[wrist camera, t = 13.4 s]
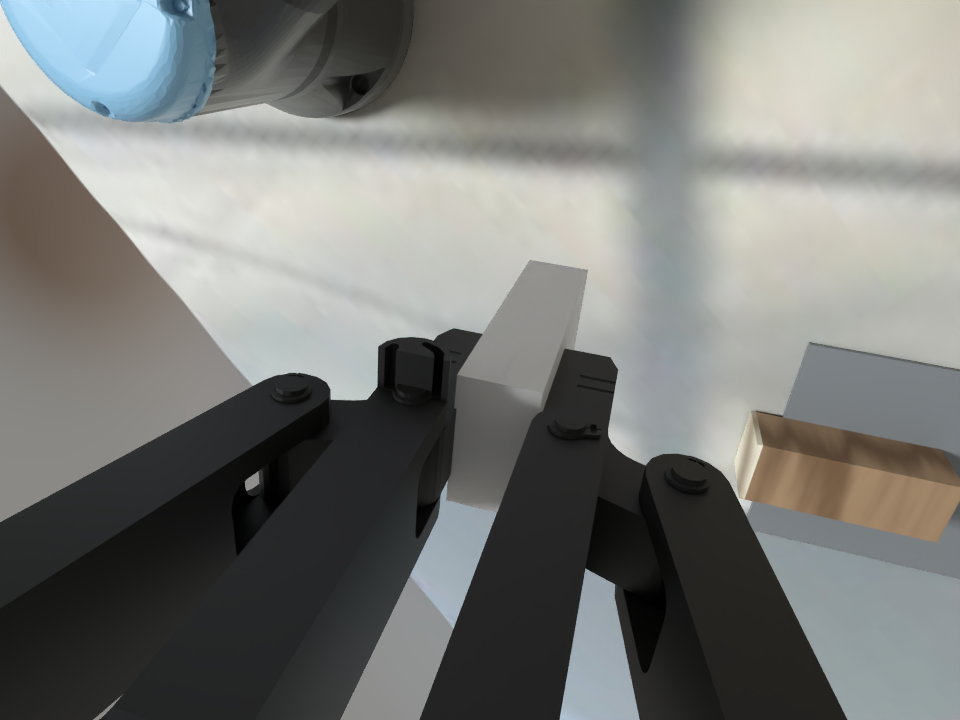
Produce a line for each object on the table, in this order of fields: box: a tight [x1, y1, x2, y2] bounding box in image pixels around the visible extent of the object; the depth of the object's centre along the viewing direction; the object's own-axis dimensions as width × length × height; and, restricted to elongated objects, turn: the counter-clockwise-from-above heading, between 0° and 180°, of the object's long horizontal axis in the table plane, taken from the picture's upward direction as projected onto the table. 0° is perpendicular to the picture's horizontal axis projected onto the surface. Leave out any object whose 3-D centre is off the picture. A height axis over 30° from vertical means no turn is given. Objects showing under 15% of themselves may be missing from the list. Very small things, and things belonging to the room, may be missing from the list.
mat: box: [747, 342, 960, 579], centre depth 52 cm, size 20×18×1 cm
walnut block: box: [734, 411, 960, 543], centre depth 51 cm, size 5×5×14 cm
